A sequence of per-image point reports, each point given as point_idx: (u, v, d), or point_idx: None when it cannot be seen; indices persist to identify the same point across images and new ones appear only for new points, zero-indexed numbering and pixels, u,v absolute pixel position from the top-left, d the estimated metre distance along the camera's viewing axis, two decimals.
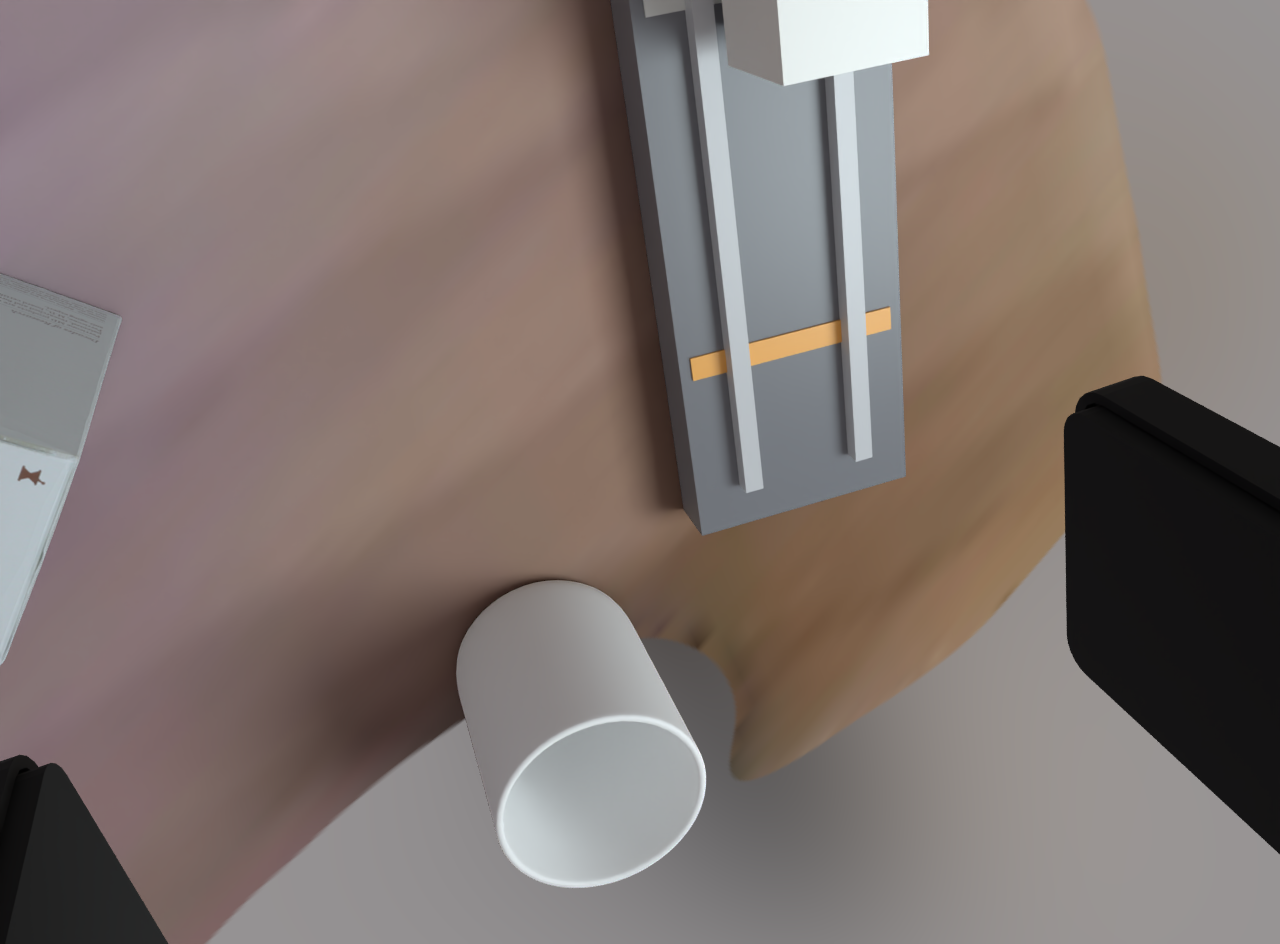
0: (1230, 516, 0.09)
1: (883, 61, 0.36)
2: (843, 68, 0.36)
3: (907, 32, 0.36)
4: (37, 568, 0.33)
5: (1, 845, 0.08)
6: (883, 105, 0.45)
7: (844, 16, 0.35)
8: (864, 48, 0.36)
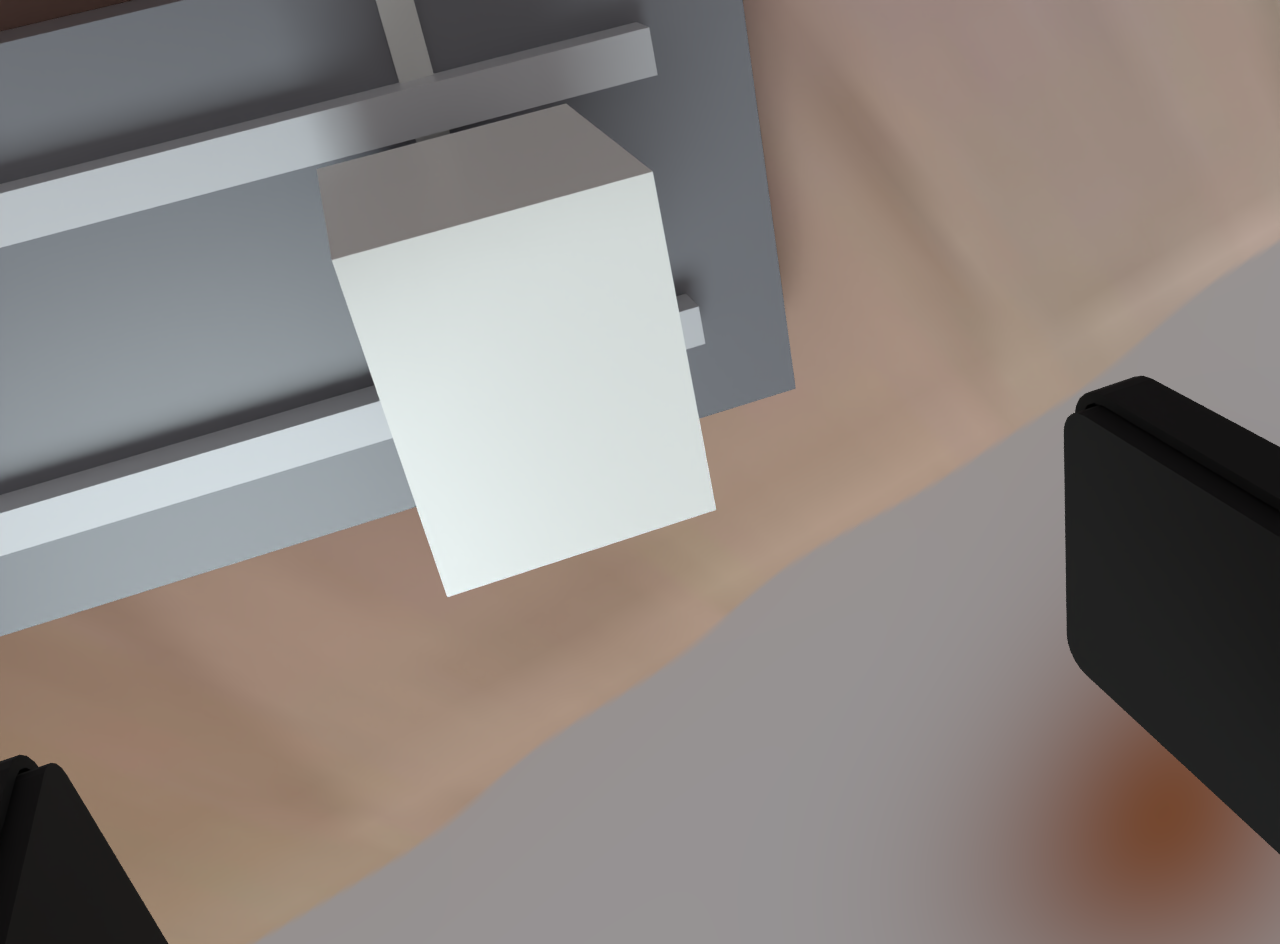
0: (1230, 516, 0.09)
1: (422, 499, 0.15)
2: (394, 407, 0.15)
3: (490, 536, 0.16)
4: None
5: (1, 845, 0.08)
6: (272, 532, 0.23)
7: (512, 381, 0.15)
8: (447, 447, 0.15)
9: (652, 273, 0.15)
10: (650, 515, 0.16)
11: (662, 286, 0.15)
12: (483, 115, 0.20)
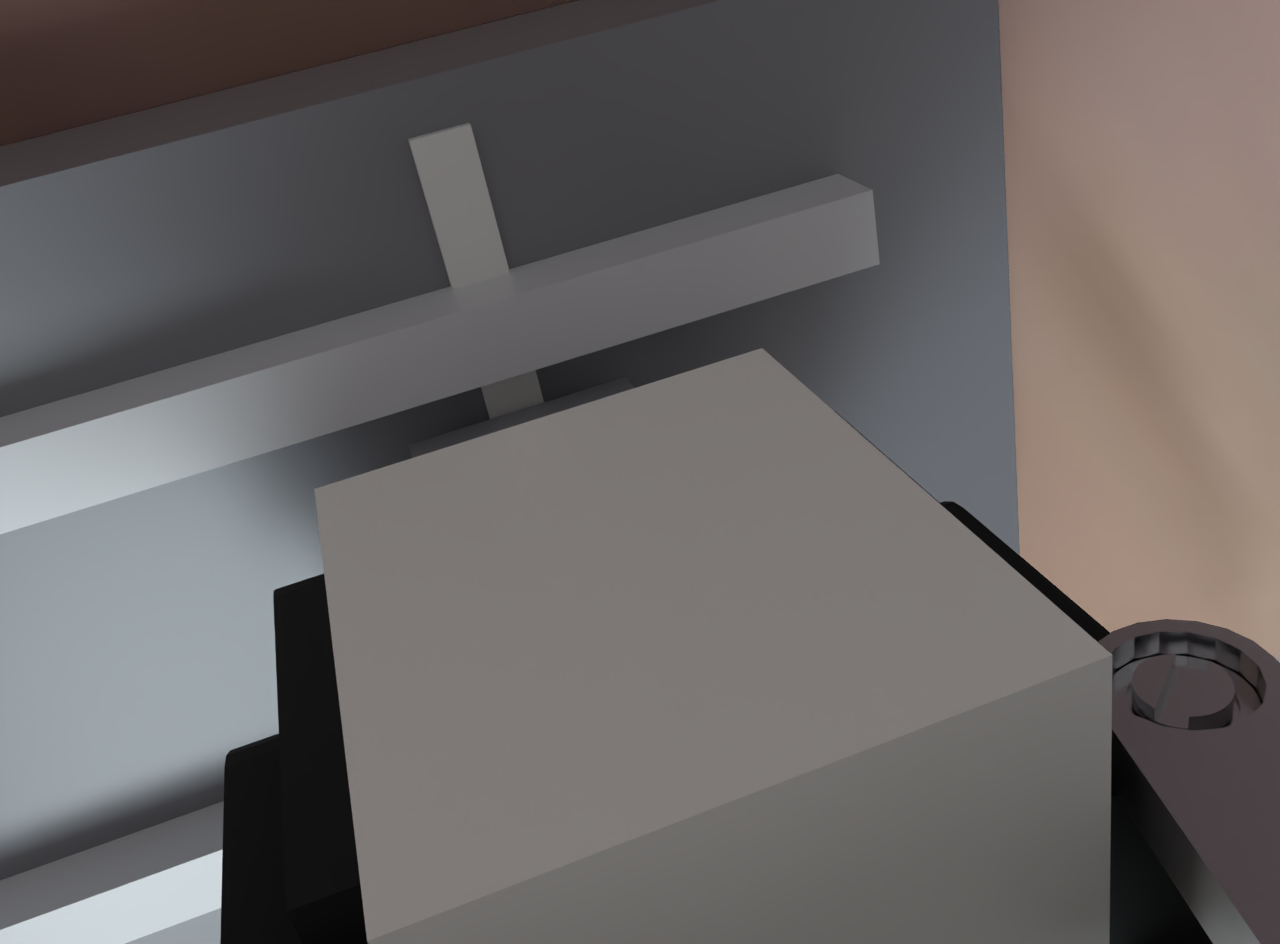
0: None
1: None
2: None
3: None
4: None
5: None
6: None
7: None
8: None
9: (1073, 840, 0.07)
10: None
11: (1087, 858, 0.07)
12: (595, 343, 0.12)
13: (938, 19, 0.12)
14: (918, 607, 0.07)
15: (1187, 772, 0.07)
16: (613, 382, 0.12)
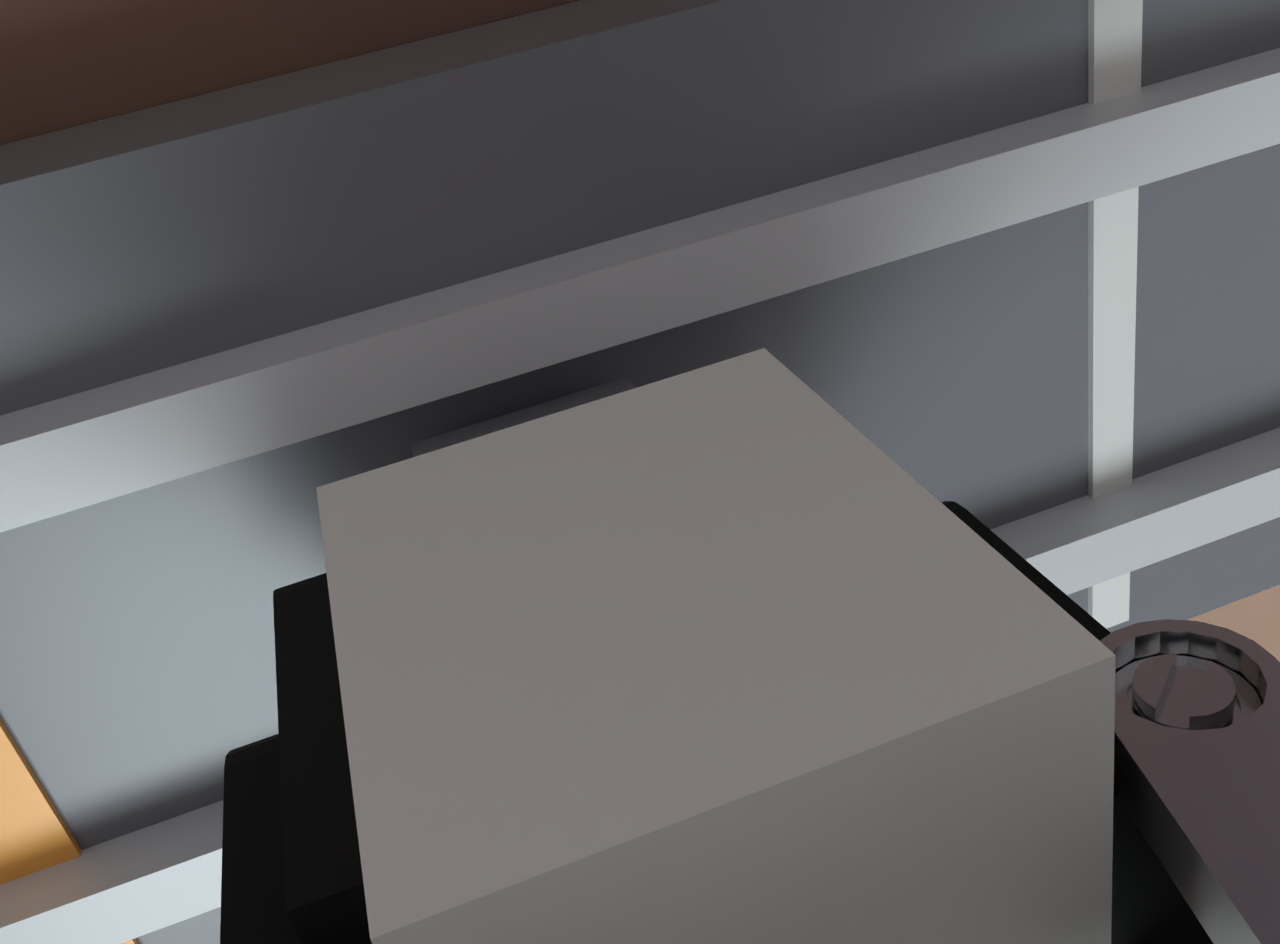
0: None
1: None
2: None
3: None
4: None
5: None
6: None
7: None
8: None
9: (1075, 840, 0.07)
10: None
11: (1089, 859, 0.07)
12: (1226, 152, 0.13)
13: None
14: (921, 607, 0.07)
15: (1188, 772, 0.07)
16: (615, 382, 0.12)
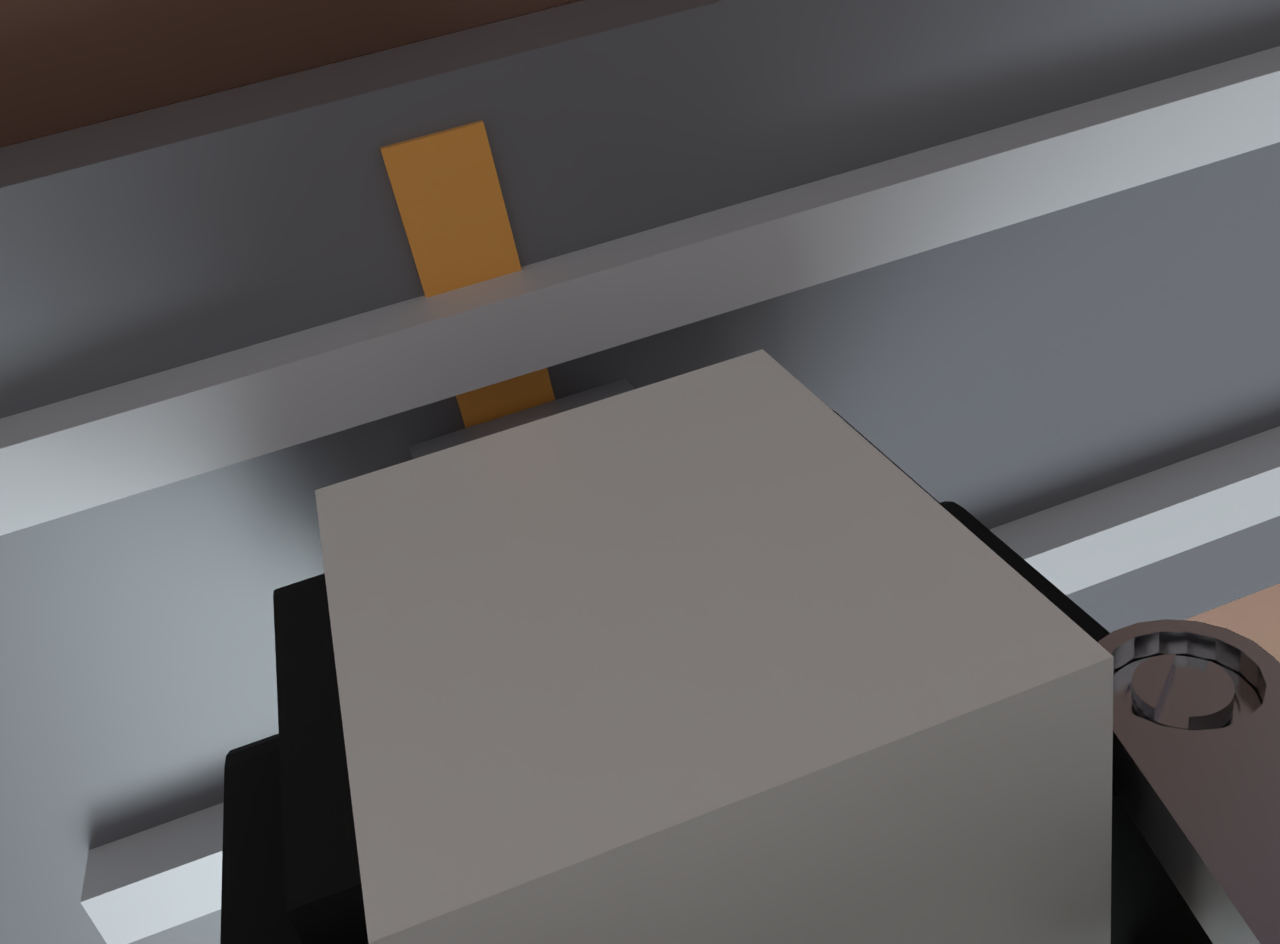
0: None
1: None
2: None
3: None
4: None
5: None
6: (1191, 595, 0.17)
7: None
8: None
9: (1073, 842, 0.07)
10: None
11: (1088, 860, 0.07)
12: None
13: None
14: (919, 609, 0.07)
15: (1187, 772, 0.07)
16: (613, 383, 0.12)
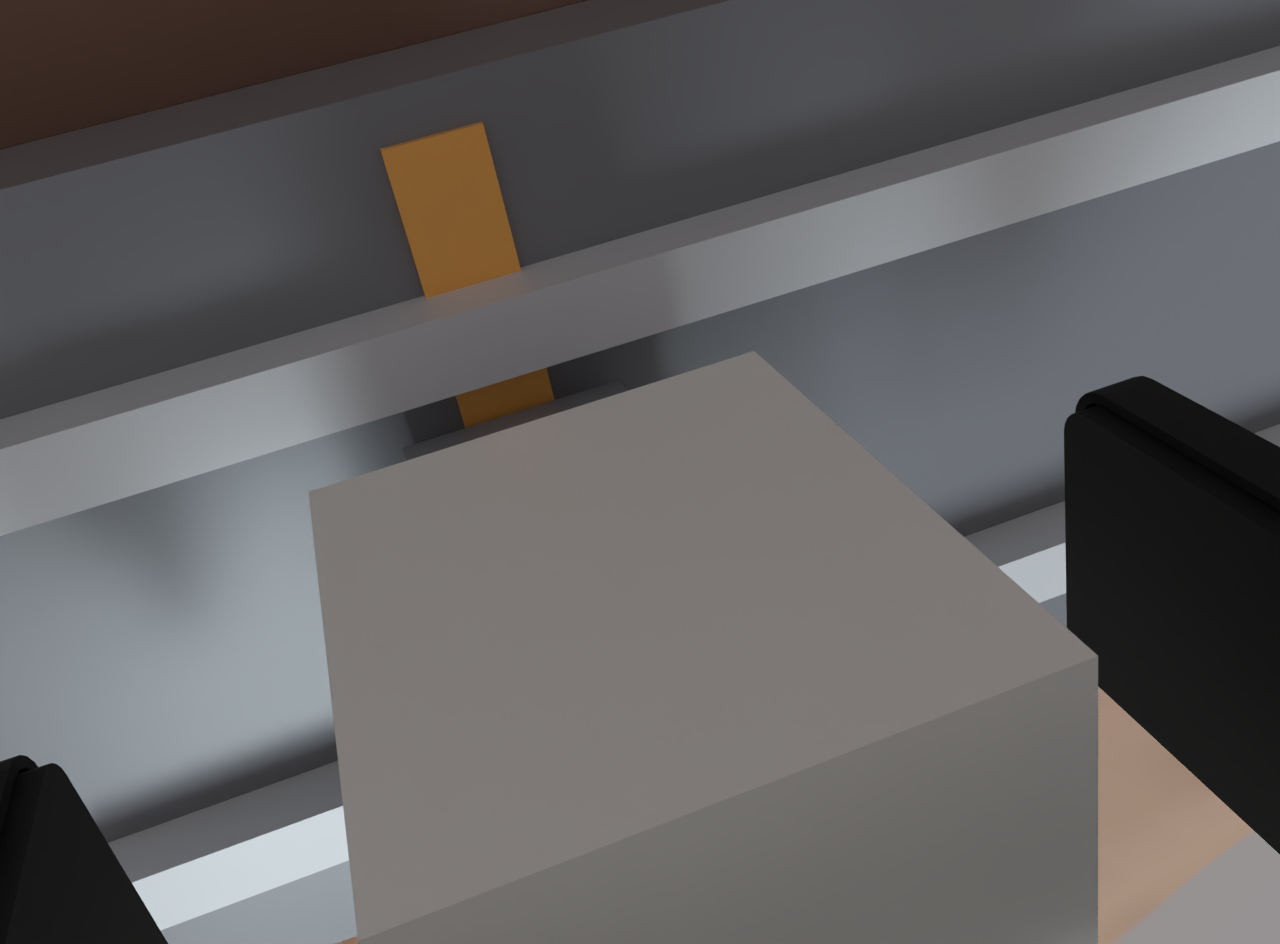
0: (1229, 516, 0.09)
1: None
2: None
3: None
4: None
5: (1, 845, 0.08)
6: None
7: None
8: None
9: (1060, 840, 0.07)
10: None
11: (1074, 858, 0.07)
12: None
13: None
14: (906, 609, 0.07)
15: None
16: (607, 385, 0.12)
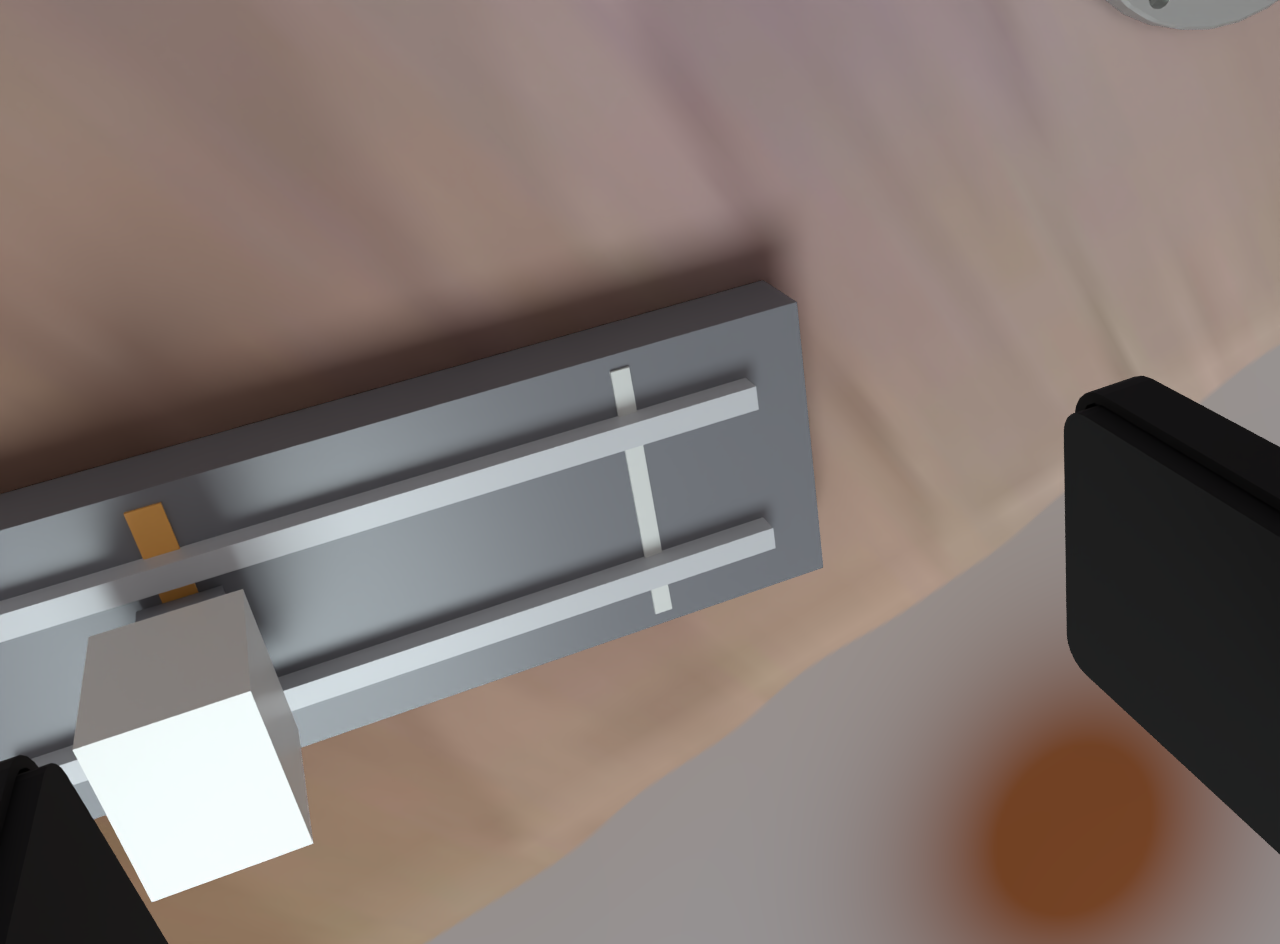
0: (1229, 517, 0.09)
1: (132, 855, 0.28)
2: (112, 812, 0.27)
3: (175, 869, 0.28)
4: None
5: (1, 845, 0.08)
6: (518, 661, 0.38)
7: (180, 793, 0.28)
8: (144, 828, 0.28)
9: (256, 735, 0.28)
10: (272, 850, 0.29)
11: (263, 740, 0.28)
12: (665, 435, 0.35)
13: (778, 329, 0.36)
14: (221, 679, 0.28)
15: None
16: (216, 587, 0.33)
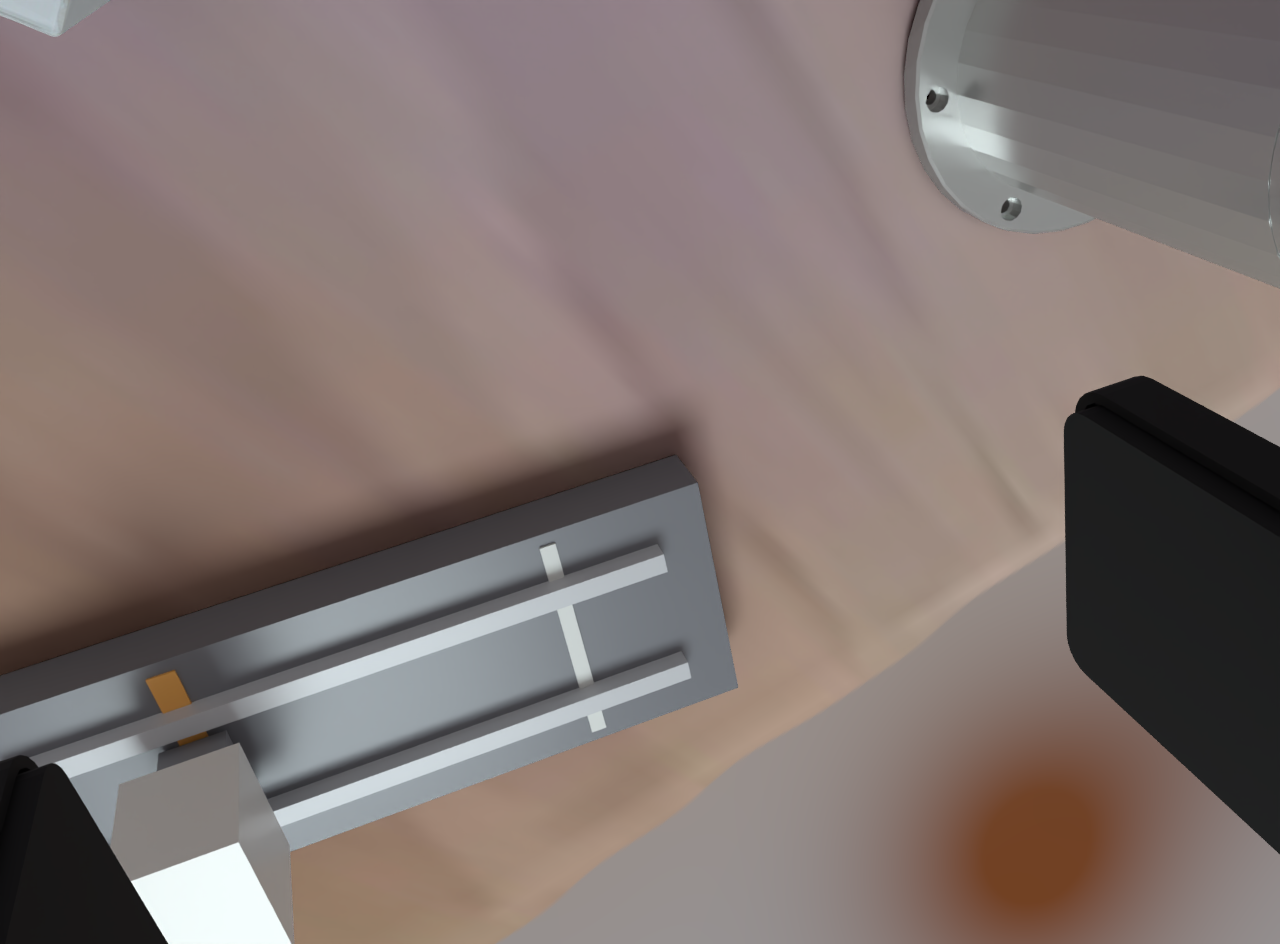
0: (1229, 516, 0.09)
1: None
2: None
3: None
4: None
5: (1, 845, 0.08)
6: (476, 774, 0.46)
7: (188, 918, 0.36)
8: None
9: (245, 874, 0.35)
10: None
11: (250, 877, 0.36)
12: (587, 597, 0.43)
13: (683, 504, 0.43)
14: (217, 829, 0.36)
15: None
16: (221, 732, 0.41)
